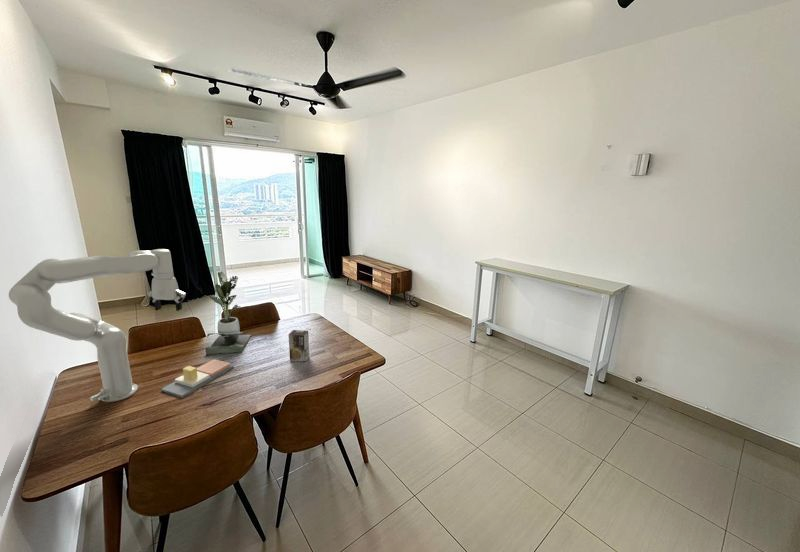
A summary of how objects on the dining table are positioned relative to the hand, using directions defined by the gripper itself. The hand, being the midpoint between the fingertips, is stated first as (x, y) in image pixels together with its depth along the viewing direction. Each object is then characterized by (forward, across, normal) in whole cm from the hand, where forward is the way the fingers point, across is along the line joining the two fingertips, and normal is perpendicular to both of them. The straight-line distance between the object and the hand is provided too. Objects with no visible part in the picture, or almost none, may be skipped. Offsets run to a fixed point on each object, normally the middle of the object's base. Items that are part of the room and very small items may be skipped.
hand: (168, 309), depth 152 cm
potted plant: (+33, +12, +30) cm, 46 cm away
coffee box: (+33, +58, +14) cm, 68 cm away
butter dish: (+31, +14, -11) cm, 36 cm away
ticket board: (+33, +15, -7) cm, 37 cm away
